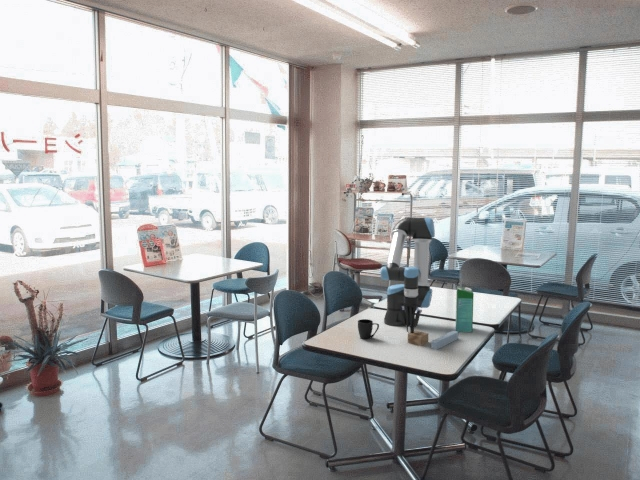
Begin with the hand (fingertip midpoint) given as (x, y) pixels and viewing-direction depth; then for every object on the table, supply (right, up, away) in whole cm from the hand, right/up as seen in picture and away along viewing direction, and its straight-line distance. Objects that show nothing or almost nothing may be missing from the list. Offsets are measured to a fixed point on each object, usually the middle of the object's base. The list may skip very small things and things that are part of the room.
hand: (410, 338), depth 295 cm
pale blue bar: (+18, -2, -4) cm, 19 cm away
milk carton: (+35, +1, +21) cm, 40 cm away
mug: (-22, -1, +6) cm, 23 cm away
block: (+4, -2, -3) cm, 5 cm away
